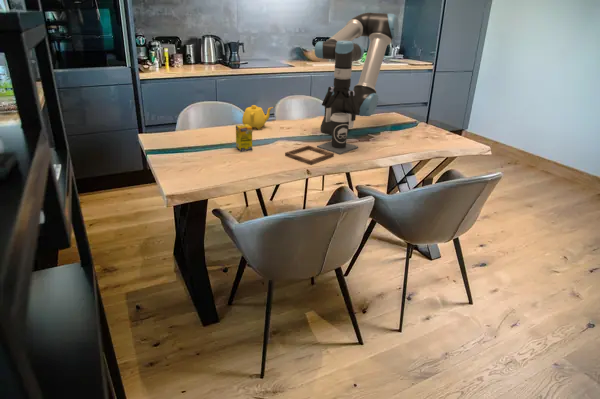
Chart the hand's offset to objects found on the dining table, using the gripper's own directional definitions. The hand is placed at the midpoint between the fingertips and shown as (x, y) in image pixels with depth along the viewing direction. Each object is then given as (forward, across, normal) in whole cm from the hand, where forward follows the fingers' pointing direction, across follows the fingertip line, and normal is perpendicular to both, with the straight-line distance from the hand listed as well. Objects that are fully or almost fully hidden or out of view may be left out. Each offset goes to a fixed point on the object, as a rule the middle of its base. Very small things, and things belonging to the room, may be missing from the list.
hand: (339, 124), depth 202 cm
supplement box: (+12, -28, -34) cm, 46 cm away
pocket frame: (+11, -1, -19) cm, 22 cm away
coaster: (+11, 0, 0) cm, 11 cm away
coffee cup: (+11, 0, 0) cm, 11 cm away
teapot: (+12, -51, -5) cm, 53 cm away
